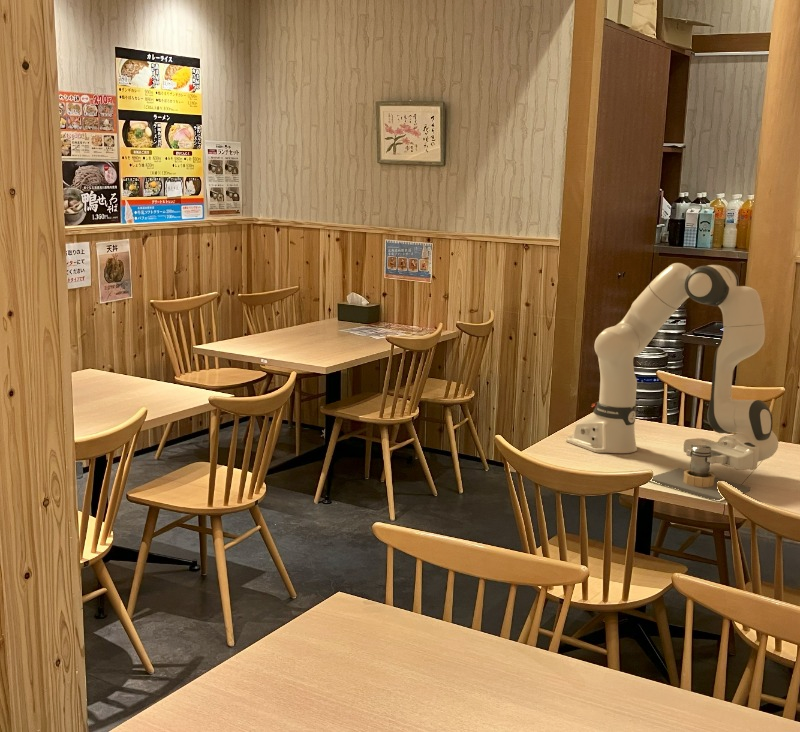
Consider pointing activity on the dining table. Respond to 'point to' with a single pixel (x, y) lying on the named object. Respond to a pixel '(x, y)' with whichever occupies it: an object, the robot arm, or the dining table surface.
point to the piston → (700, 461)
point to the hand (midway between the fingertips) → (698, 456)
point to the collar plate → (694, 483)
